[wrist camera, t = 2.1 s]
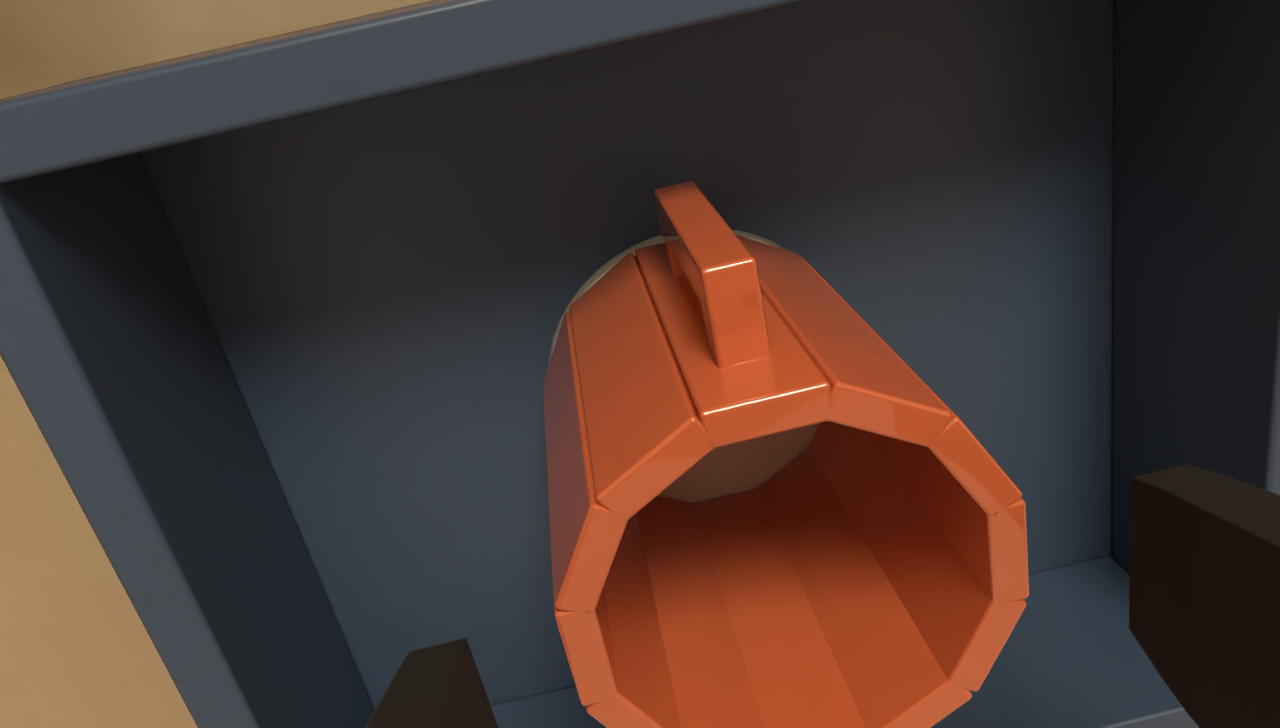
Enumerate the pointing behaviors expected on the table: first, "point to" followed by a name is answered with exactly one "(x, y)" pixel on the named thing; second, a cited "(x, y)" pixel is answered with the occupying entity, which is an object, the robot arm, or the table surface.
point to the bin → (572, 252)
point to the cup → (763, 499)
